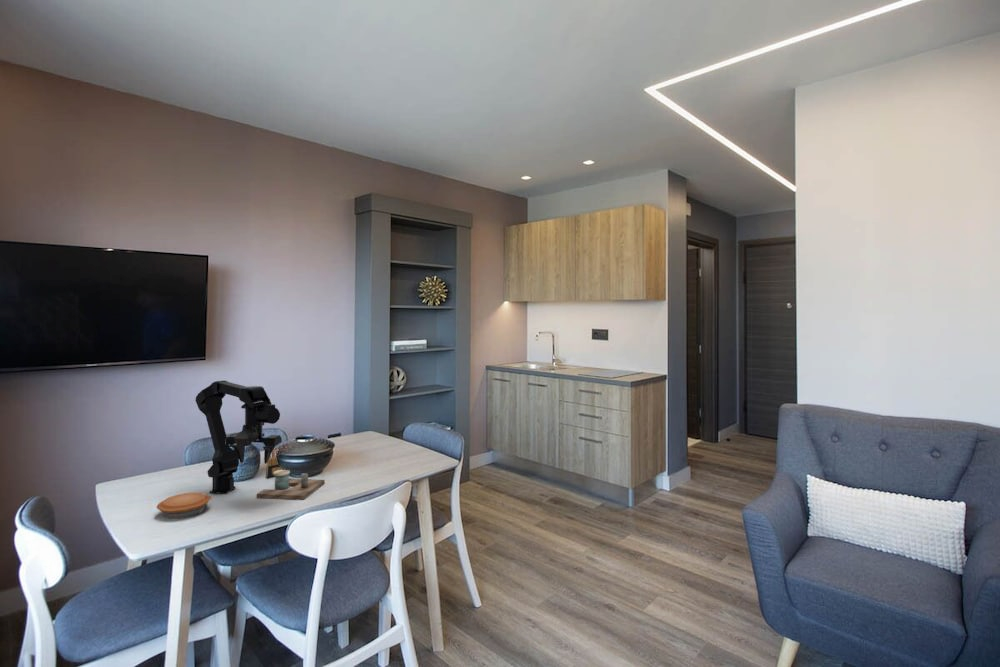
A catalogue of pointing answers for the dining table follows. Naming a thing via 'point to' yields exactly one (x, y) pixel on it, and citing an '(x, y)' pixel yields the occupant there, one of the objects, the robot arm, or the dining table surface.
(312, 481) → the walnut notched board
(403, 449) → the dining table surface
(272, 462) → the ammunition clip
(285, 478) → the thread spool
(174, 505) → the pie
